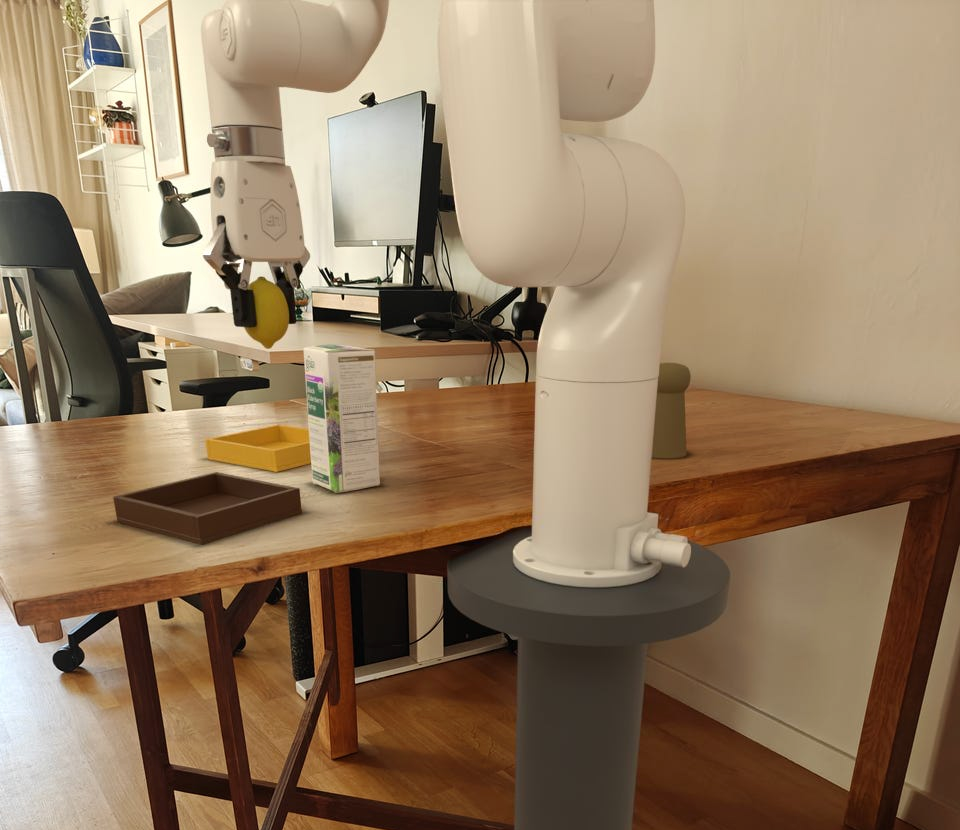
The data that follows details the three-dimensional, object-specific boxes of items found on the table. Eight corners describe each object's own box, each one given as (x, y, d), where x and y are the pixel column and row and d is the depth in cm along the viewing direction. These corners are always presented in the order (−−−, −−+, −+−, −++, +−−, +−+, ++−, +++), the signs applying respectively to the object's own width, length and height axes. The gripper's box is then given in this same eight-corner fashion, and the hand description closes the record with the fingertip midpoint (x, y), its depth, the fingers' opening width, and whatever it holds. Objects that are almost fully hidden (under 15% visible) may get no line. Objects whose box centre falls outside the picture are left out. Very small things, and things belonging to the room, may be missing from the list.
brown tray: (302, 513, 85) (299, 488, 84) (201, 544, 75) (197, 517, 74) (219, 495, 91) (216, 471, 90) (117, 522, 82) (112, 496, 81)
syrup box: (310, 483, 95) (299, 346, 89) (357, 476, 99) (349, 342, 93) (335, 494, 91) (325, 350, 85) (383, 485, 94) (376, 346, 88)
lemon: (288, 346, 106) (282, 275, 103) (294, 350, 101) (288, 276, 98) (242, 347, 104) (234, 276, 101) (246, 352, 100) (238, 277, 96)
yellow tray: (348, 453, 110) (346, 434, 109) (276, 472, 100) (274, 450, 99) (280, 443, 116) (278, 424, 115) (207, 459, 107) (205, 439, 106)
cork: (645, 458, 107) (652, 366, 102) (633, 448, 112) (639, 360, 108) (692, 458, 107) (702, 366, 103) (678, 448, 113) (686, 360, 108)
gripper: (209, 139, 86) (230, 331, 93) (329, 154, 99) (339, 322, 106) (161, 144, 90) (185, 328, 97) (283, 158, 103) (296, 319, 110)
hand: (266, 323), depth 102 cm, fingers closed on lemon, 5 cm apart
